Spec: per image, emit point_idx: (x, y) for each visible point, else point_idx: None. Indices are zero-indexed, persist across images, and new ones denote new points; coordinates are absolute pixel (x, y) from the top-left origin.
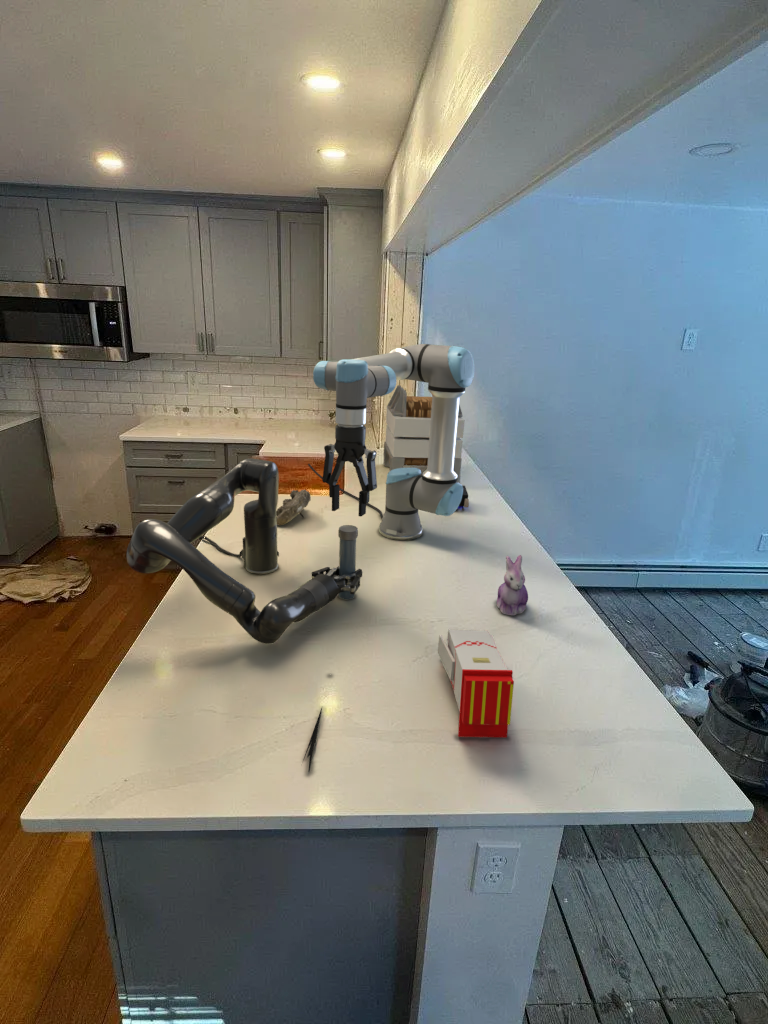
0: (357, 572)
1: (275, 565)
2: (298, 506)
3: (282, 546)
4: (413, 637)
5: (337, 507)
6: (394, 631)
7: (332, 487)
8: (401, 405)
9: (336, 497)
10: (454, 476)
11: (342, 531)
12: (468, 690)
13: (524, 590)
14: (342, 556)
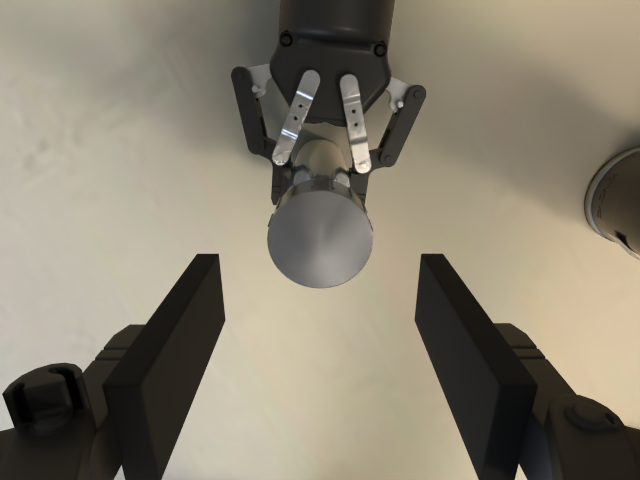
0: (281, 185)
1: (597, 203)
2: None
3: (625, 338)
4: (33, 35)
5: (420, 305)
6: (95, 39)
7: (527, 380)
8: None
9: (446, 339)
10: None
11: (329, 190)
12: None
13: None
14: (326, 164)
